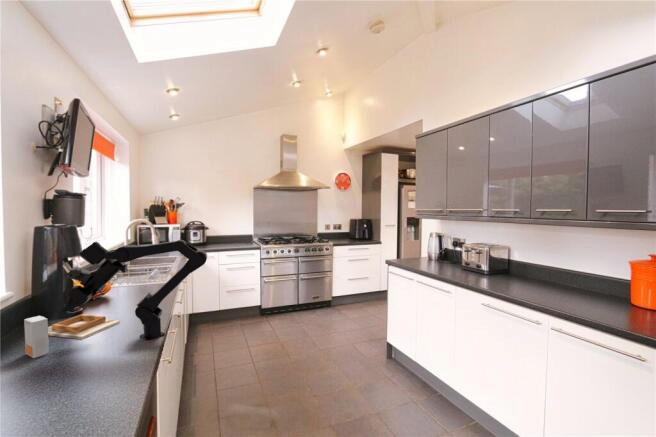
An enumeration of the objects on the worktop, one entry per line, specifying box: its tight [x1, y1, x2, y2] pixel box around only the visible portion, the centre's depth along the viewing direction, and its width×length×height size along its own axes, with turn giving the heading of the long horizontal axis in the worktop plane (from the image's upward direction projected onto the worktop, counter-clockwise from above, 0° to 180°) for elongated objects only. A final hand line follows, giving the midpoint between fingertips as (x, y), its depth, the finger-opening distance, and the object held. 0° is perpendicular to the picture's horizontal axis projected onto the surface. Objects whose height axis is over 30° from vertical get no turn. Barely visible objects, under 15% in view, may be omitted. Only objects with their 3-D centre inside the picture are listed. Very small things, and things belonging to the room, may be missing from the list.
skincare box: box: [23, 315, 50, 359], centre depth 104 cm, size 6×4×12 cm
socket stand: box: [48, 313, 121, 340], centre depth 125 cm, size 22×16×3 cm
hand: (68, 307), depth 109 cm, fingers open, 9 cm apart
